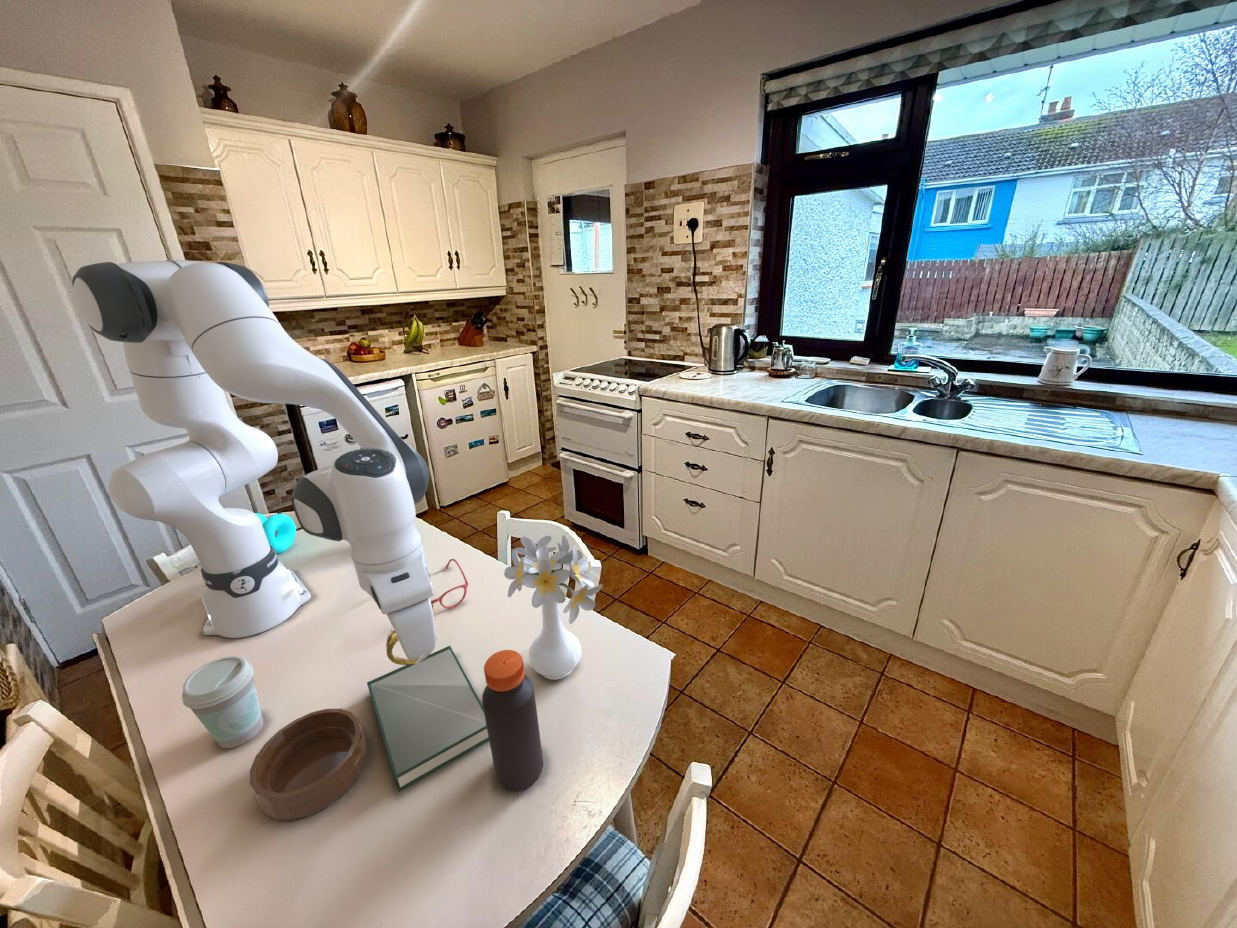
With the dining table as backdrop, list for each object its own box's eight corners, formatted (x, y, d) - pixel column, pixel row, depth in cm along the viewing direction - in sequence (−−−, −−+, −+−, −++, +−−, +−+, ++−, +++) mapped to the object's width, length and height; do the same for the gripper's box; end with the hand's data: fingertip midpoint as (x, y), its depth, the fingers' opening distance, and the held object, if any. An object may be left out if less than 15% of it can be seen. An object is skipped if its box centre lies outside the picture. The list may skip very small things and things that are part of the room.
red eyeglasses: (396, 636, 95) (390, 616, 93) (374, 596, 107) (369, 577, 105) (479, 598, 105) (475, 579, 103) (451, 566, 117) (447, 548, 115)
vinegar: (517, 739, 74) (501, 637, 66) (553, 759, 71) (541, 655, 63) (485, 777, 69) (464, 671, 61) (522, 801, 65) (505, 693, 58)
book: (370, 695, 82) (366, 682, 81) (452, 657, 90) (450, 645, 88) (398, 791, 67) (394, 777, 66) (494, 736, 74) (492, 723, 73)
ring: (392, 678, 71) (380, 635, 68) (391, 663, 74) (379, 622, 71) (442, 660, 74) (432, 618, 71) (438, 646, 77) (429, 606, 74)
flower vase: (576, 718, 77) (566, 590, 67) (498, 667, 87) (479, 549, 77) (623, 666, 87) (620, 547, 77) (548, 625, 97) (536, 516, 87)
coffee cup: (222, 767, 71) (191, 708, 66) (197, 740, 75) (167, 682, 71) (284, 723, 78) (260, 666, 73) (258, 700, 82) (234, 645, 77)
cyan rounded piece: (268, 538, 131) (257, 506, 127) (303, 540, 130) (292, 507, 126) (238, 560, 122) (224, 525, 118) (275, 561, 121) (262, 526, 117)
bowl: (260, 763, 71) (249, 740, 69) (359, 716, 78) (352, 693, 77) (262, 845, 61) (249, 820, 59) (376, 782, 68) (368, 758, 66)
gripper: (354, 539, 73) (374, 613, 79) (383, 612, 58) (406, 697, 63) (398, 526, 76) (414, 597, 82) (436, 591, 61) (454, 674, 66)
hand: (411, 641), depth 72 cm, fingers closed on ring, 2 cm apart
